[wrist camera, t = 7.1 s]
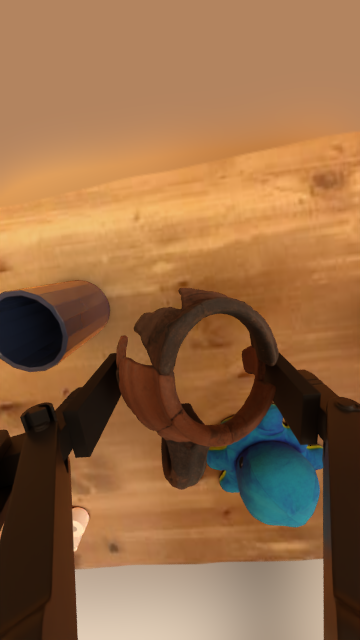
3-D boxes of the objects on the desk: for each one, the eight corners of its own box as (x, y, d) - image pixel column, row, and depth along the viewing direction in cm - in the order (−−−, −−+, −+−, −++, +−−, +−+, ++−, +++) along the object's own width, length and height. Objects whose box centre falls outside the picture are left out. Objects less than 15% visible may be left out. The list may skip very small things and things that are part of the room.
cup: (62, 336, 29) (-1, 374, 19) (48, 283, 27) (-30, 295, 17) (114, 332, 28) (76, 368, 19) (103, 277, 26) (54, 286, 17)
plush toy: (335, 474, 33) (382, 542, 25) (233, 505, 36) (246, 576, 28) (300, 389, 29) (342, 437, 21) (190, 431, 32) (190, 487, 24)
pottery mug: (106, 297, 16) (128, 274, 8) (213, 298, 20) (294, 284, 12) (112, 458, 16) (138, 582, 8) (217, 427, 20) (300, 492, 12)
